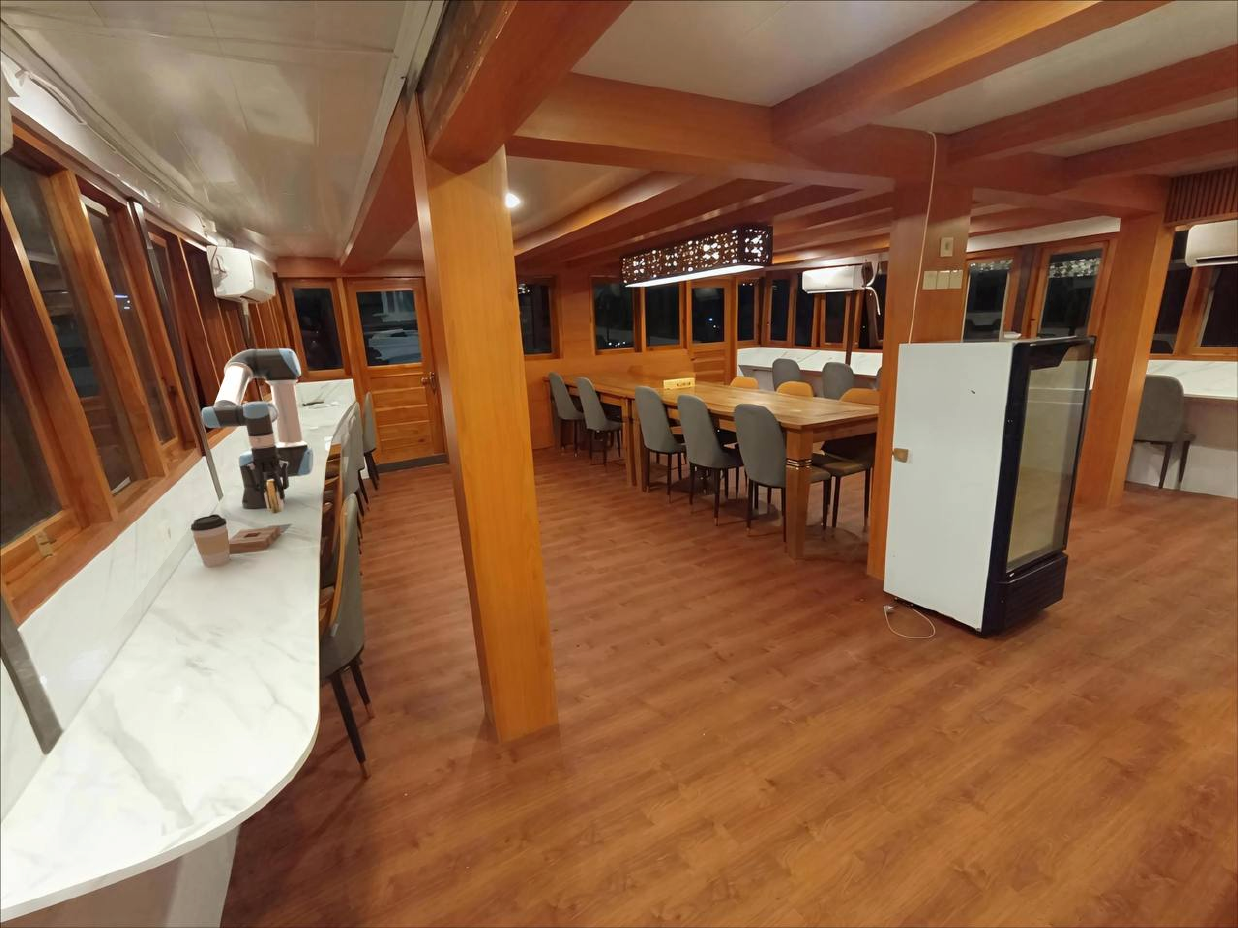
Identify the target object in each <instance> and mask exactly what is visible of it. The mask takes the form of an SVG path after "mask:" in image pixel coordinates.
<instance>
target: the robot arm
mask: <svg viewBox="0 0 1238 928" xmlns="http://www.w3.org/2000/svg"><path fill="white" fill-rule="evenodd" d="M223 375H224V378H223V380H222V383H221V386H220V389H219V392H218V393H217V397H216V398H215V399H216V400H215V402H214V404H213V405H212V406H211V405H210V406H206V407H203V408H202V410H201V420H202V422H203V425H204V426H205V427H206V428H209V429H215V428H216V429H221V428H234V427H246V429H247V436H248V440H249V445H250V447H251V449H250V450H248V451H246V452H245V451H244V452H242V453H241V454H239V456H238V466H239V469H240V470H239V471H240V475H241V478H242V479H241V481H242V485H243V495H242V497H241V498H242V499H241V506H242V508H244V509H262V508H263V509H265V508H266V510H267V511H271V509H270V504H269V499H268V494H267V489H266V484H265V481H266V480H270V479H274V481H275V484H276V486H277V490H278V491H277V492H276V495H277V500H278V505H279V509H281V510H282V509H283V508H285V505H284V501H285V500H286V499H285V498H286V494H285V490H287V489H289V487H290V482H289V480H290V479H289V478H291V477H293V478H294V477H301V476H308V475H310V474H311V473H312V471H313V467H314V452H313V448H310V447H309V446H308V443H307V442H306V441H304V440H303V436H302V427H301V422H300V414H299V408H298V400H297V393H296V387H295V384H296V383H297V382H298V381H299V379H298V378H299V377H300V376H302V370H301V365H300V362H299V358H298V357H297V354H296V353H295V351H294V349H291V348H281V347H279V348H249V349H246V350H241V352H238V353H237V354H235V355H234V356H232V357H231V358H230V359H229V360H228V362H227V363H226V364H225V366H224V369H223ZM255 378H256V379H257V378H262V379H263V378H264V381H265V383H266V384H268V385H269V386H270V391H271V398H272V403H271V402H268V401H262V400H261V401H259V400H258V401H250V402H246V403H244V404H242V401H243V399H244V396H245V392H246V389H247V387H248V384H249V383H250V382H251V381H252V379H255ZM274 422H275V423H276V429H277V438H278V444H277V445H276V443H277V442H276V438H275V433H274V427H273V423H274Z"/></svg>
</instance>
